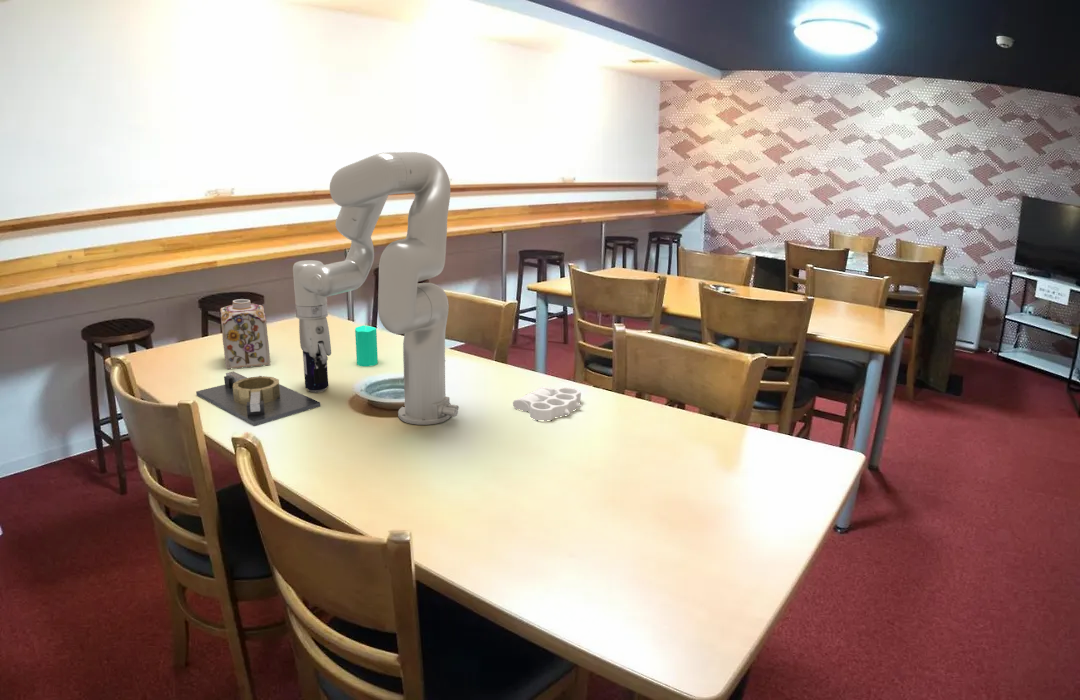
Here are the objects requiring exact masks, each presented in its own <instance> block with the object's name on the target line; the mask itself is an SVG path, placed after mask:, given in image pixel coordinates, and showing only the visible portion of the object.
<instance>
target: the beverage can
mask: <svg viewBox="0 0 1080 700" xmlns="http://www.w3.org/2000/svg"><path fill="white" fill-rule="evenodd" d="M316 356H320V354H316ZM302 359H303V375H304V387H305V389H306V390H308V392H310V393H322V392H324V391H326V389H328V388H329V376H328V375H329V374H328V370H327V382H325V383H319V384H315V383H314V371H313V369H314V368H315V366H314V361H313V357H311V356H310V355H309V352H308V351H307V349H306V347H305V346H304V349H303V350H302ZM319 360H320V358H319V359H317V363H318V361H319Z"/></svg>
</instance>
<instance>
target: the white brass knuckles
mask: <svg viewBox="0 0 1080 700" xmlns="http://www.w3.org/2000/svg"><path fill="white" fill-rule="evenodd" d="M581 395H582V393H581V391H580V390H579V389H577V388H575V387H559V388H552V387H548V386H541V387H538V388H536V389H535V390H534V391H532V392H529V393H527V394H525V395H523V396H522V397H520V398H517V399H515V400H513V402H512V407H513V408H514V409H516V410H517V409H520V410H523V411H522V412H525V411H529V412H530V413H529V412H528V413H529V418H530V417H531V418H533V419H535V420H544V421H547V420H552V419H553V418H555V417H560V416H565V415H568V416H569V414H571V413H572V412H571V411H573V410H575V409H576V408H577V409H578V408H581V407H583V405H581ZM579 403H580V404H579ZM577 409H576V410H577ZM520 410H519V411H520ZM570 412H571V413H570ZM531 418H530V419H531ZM533 419H532V420H533ZM535 420H534V421H535ZM553 420H554V419H553ZM553 420H552V421H553Z"/></svg>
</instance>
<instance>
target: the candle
mask: <svg viewBox="0 0 1080 700" xmlns="http://www.w3.org/2000/svg"><path fill="white" fill-rule="evenodd" d="M377 331H378V330H377V327H374V326H370V325H367V323H366V322H365V324H363V325H360V326H356V327H355V329H354V332H355V333H354V334H355V351H356V352H355V353H356V357H355V358H356V365H357V366H359V367H367V368H368V367H373V366H377V365H378V363H379V361H378V360H379V358H378V357H379V356H378V335H377Z"/></svg>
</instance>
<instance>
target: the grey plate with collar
mask: <svg viewBox="0 0 1080 700" xmlns="http://www.w3.org/2000/svg"><path fill="white" fill-rule="evenodd" d="M223 379H224V384H221V385H217V386H212V387H209V388H204V389H201V390H197V391H195V393H196V397H199V398H201V399H203V400H205V401H206V402H209V403H211V404H213V405H214V406H216V407H218V408H220V409H221V410H223V411H225V412H227V413H229V414H230V415H233V416H234V417H236V418H238V419H241V420H242V421H244V422H246V423H248V424H250V425H251V426H253V427H255V426H258V425H263V424H265V423H269V422H273V421H275V420H279V419H282V418H285V417H288V416H292V414H293V415H296V414H299V413H301V412H302V411H303V412H305V411H309V409H310V410H313V409H315V408H319V407H321V406H322V405H321V402H320V401H318V400H316V399H315V398H312V397H309V396H307V395H304V394H303V393H301V392H298V391H296V390H293V389H291V388H289V387H287V386H284V385H282V384H280V379H278V378H277V377H276V378H275V377H274V376H267V375H266V376H265V375H264V376H263V375H259V376H249V377H247V376H244V375H242V374H241V373H238V372H236V371H234V370H233V371H229V372H226V373H225V375H224V376H223ZM272 420H273V421H272Z"/></svg>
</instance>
